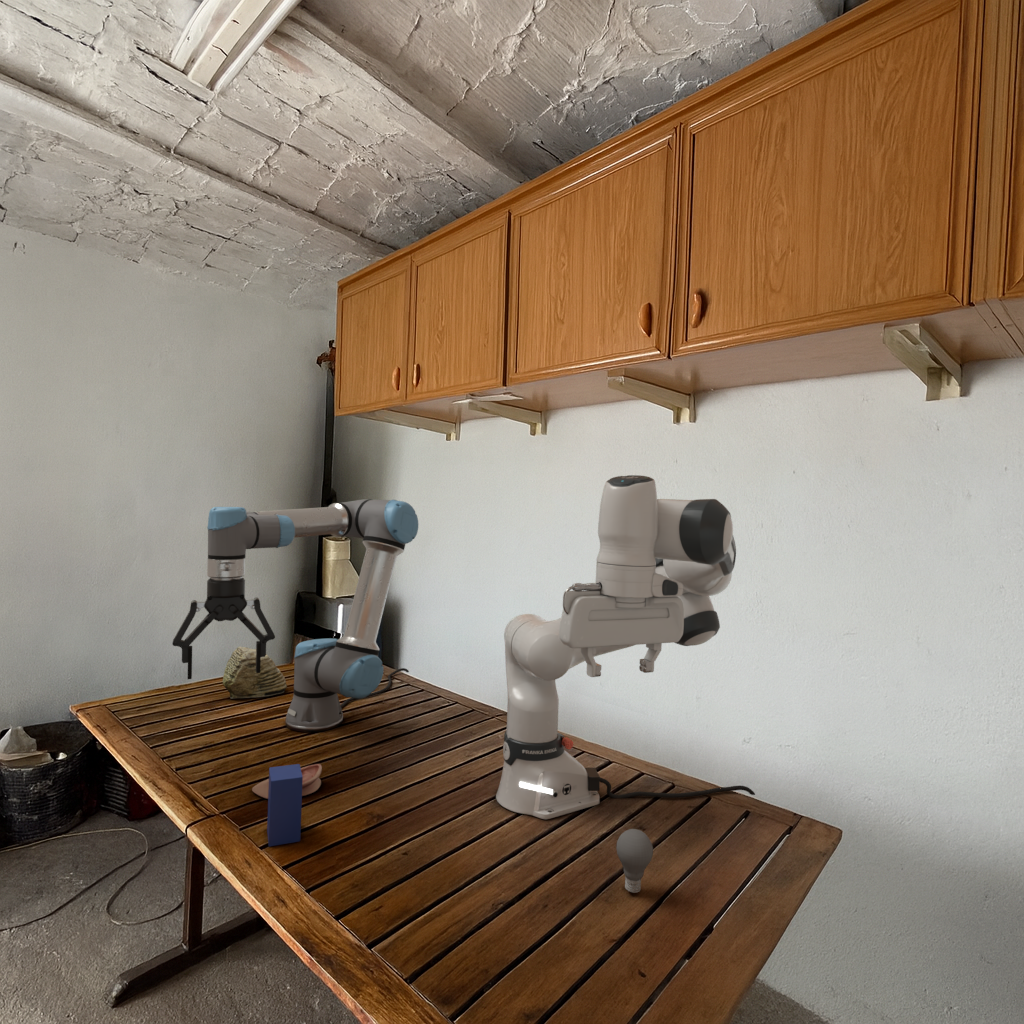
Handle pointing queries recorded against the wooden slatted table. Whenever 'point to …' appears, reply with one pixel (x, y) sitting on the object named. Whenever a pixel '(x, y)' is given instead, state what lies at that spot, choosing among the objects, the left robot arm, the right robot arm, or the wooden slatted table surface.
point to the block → (284, 804)
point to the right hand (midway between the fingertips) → (620, 673)
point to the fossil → (252, 675)
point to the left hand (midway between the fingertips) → (224, 674)
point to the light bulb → (634, 857)
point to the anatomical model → (308, 784)
